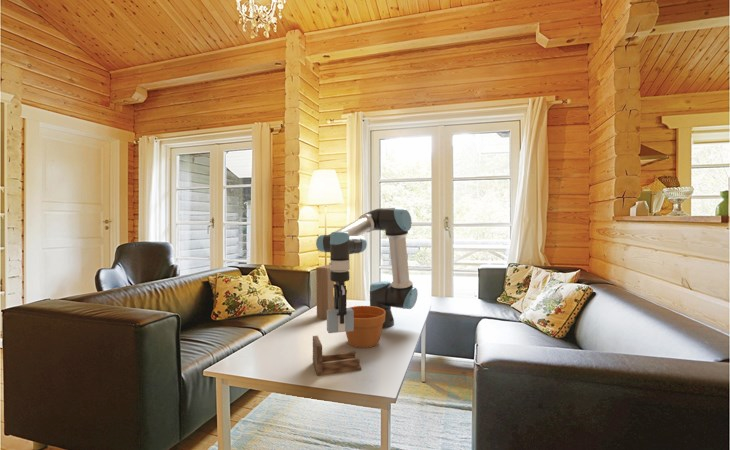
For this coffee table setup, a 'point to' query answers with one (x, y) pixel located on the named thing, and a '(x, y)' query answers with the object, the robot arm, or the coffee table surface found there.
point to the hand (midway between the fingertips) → (340, 329)
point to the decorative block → (324, 291)
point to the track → (333, 360)
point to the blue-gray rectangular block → (333, 320)
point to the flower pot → (366, 326)
